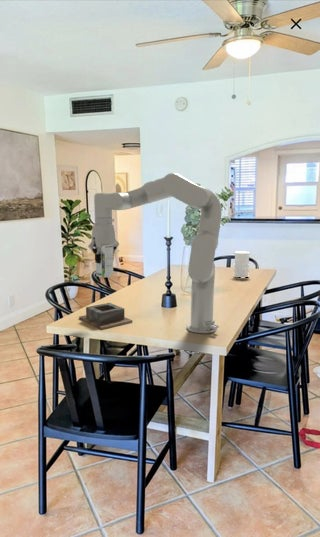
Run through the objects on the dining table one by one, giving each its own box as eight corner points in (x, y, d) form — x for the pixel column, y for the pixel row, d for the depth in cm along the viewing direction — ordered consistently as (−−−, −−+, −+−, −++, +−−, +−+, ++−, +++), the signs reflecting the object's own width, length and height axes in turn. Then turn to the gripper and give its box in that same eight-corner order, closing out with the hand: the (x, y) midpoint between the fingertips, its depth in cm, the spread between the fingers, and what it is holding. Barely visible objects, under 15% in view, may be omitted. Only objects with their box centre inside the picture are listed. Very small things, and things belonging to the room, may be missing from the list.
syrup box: (95, 276, 175) (94, 244, 172) (106, 274, 179) (105, 243, 176) (103, 278, 171) (102, 245, 168) (114, 276, 175) (113, 244, 172)
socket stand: (132, 322, 176) (132, 309, 175) (101, 329, 166) (101, 316, 165) (108, 312, 191) (108, 300, 190) (79, 318, 181) (78, 306, 180)
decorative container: (239, 274, 289) (240, 250, 286) (252, 277, 280) (253, 252, 277) (229, 276, 282) (230, 252, 278) (242, 279, 273) (243, 253, 270)
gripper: (115, 220, 179) (116, 259, 182) (81, 222, 168) (83, 263, 171) (124, 221, 173) (125, 261, 176) (90, 222, 162) (91, 265, 165)
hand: (104, 261), depth 173 cm, fingers closed on syrup box, 6 cm apart
